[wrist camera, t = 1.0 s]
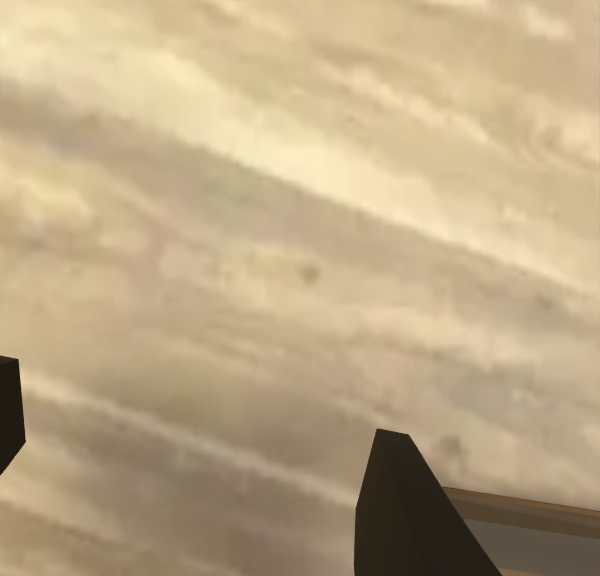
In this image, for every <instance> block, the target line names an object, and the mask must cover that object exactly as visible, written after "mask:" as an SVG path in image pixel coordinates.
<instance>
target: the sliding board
mask: <svg viewBox="0 0 600 576" xmlns="http://www.w3.org/2000/svg"><path fill="white" fill-rule="evenodd" d="M442 488H443V490H444V492H445V493H446V495H447V496H448V498H449V499H450V501H451V502H452V504H453V505H454V507H455V509H456V510H457V512H458V513H459V514H460V516H461V517H462V519H463V520H464V522H465V523H466V525H467V526H468V528H469V529H470V531H471V532H472V534H473V535H474V537H475V538H476V539H477V541H478V542H479V544H480V545H481V547H482V548H483V550H484V551H485V552H486V554H487V555H488V557H489V558H490V559H491V561H492V562H493V564H494V565H495V566H496V568H497V569H498V570H499V572H500V573H501V574H502V576H600V512H599V511H593V510H586V509H580V508H573V507H567V506H561V505H554V504H548V503H542V502H535V501H529V500H522V499H516V498H510V497H503V496H497V495H490V494H484V493H478V492H471V491H465V490H458V489H452V488H446V487H442Z"/></svg>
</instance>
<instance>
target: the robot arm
mask: <svg viewBox="0 0 600 576" xmlns="http://www.w3.org/2000/svg"><path fill="white" fill-rule="evenodd" d="M25 442H26V439H25V428H24V416H23V405H22V394H21V382H20V371H19V360H18V359H15V358H10V357H5V356H0V475H1V474H2V473H3V472H4V470H5V469H6V468H7V467H8V465H9V464H10V463H11V461H12V460H13V458H14V457H15V456H16V454H17V453H18V452H19V450H20V449H21V448H22V446H23V445H24V444H25ZM354 572H355V576H502V574H501V573H500V572H499V570H498V569H497V568H496V566H495V565H494V564H493V562H492V561H491V559H490V558H489V557H488V555H487V554H486V552H485V551H484V550H483V548H482V547H481V545H480V544H479V542H478V541H477V539H476V538H475V537H474V535H473V534H472V532H471V531H470V529H469V528H468V526H467V525H466V523H465V522H464V520H463V519H462V517H461V516H460V514H459V513H458V512H457V510H456V509H455V507H454V505H453V504H452V502H451V501H450V499H449V498H448V496H447V495H446V493H445V492H444V490H443V488H442V487H441V485H440V484H439V482H438V481H437V479H436V477H435V476H434V474H433V473H432V471H431V469H430V468H429V466H428V465H427V463H426V461H425V460H424V458H423V456H422V455H421V453H420V452H419V450H418V448H417V447H416V445H415V444H414V442H413V440H412V439H411V437H410V436H409V435H408V434H403V433H398V432H393V431H388V430H383V429H377V430H376V434H375V438H374V441H373V445H372V449H371V453H370V457H369V460H368V464H367V468H366V472H365V476H364V479H363V483H362V487H361V491H360V495H359V498H358V502H357V506H356V517H355V545H354Z"/></svg>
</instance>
